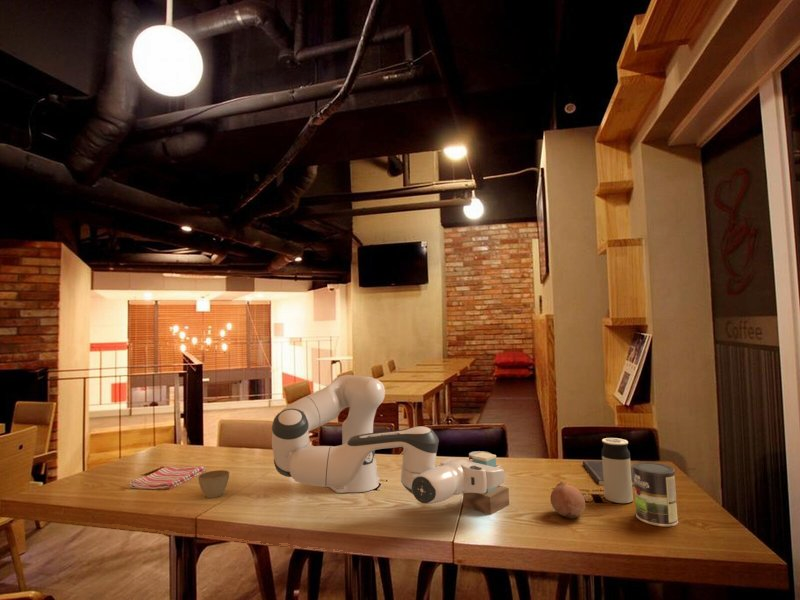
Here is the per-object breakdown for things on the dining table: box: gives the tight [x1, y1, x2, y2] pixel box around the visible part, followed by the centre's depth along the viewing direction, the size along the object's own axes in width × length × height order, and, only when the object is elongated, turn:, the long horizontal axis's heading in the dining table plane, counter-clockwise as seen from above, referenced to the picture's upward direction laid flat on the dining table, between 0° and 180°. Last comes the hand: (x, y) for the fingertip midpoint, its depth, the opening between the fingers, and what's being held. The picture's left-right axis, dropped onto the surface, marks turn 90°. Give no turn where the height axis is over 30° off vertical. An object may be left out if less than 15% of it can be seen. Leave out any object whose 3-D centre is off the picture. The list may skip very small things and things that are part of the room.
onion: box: [549, 481, 586, 520], centre depth 127 cm, size 10×9×10 cm
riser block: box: [462, 485, 510, 516], centre depth 136 cm, size 10×10×5 cm
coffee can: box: [632, 461, 679, 528], centre depth 123 cm, size 10×10×14 cm
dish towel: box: [129, 466, 207, 490], centre depth 171 cm, size 17×23×4 cm
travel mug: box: [601, 437, 634, 504], centre depth 138 cm, size 8×8×18 cm
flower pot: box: [197, 469, 230, 499], centre depth 152 cm, size 10×10×7 cm
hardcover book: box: [582, 460, 635, 487], centre depth 161 cm, size 16×23×2 cm
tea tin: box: [473, 451, 497, 493], centre depth 137 cm, size 5×5×10 cm
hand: (486, 465), depth 138 cm, fingers open, 8 cm apart
